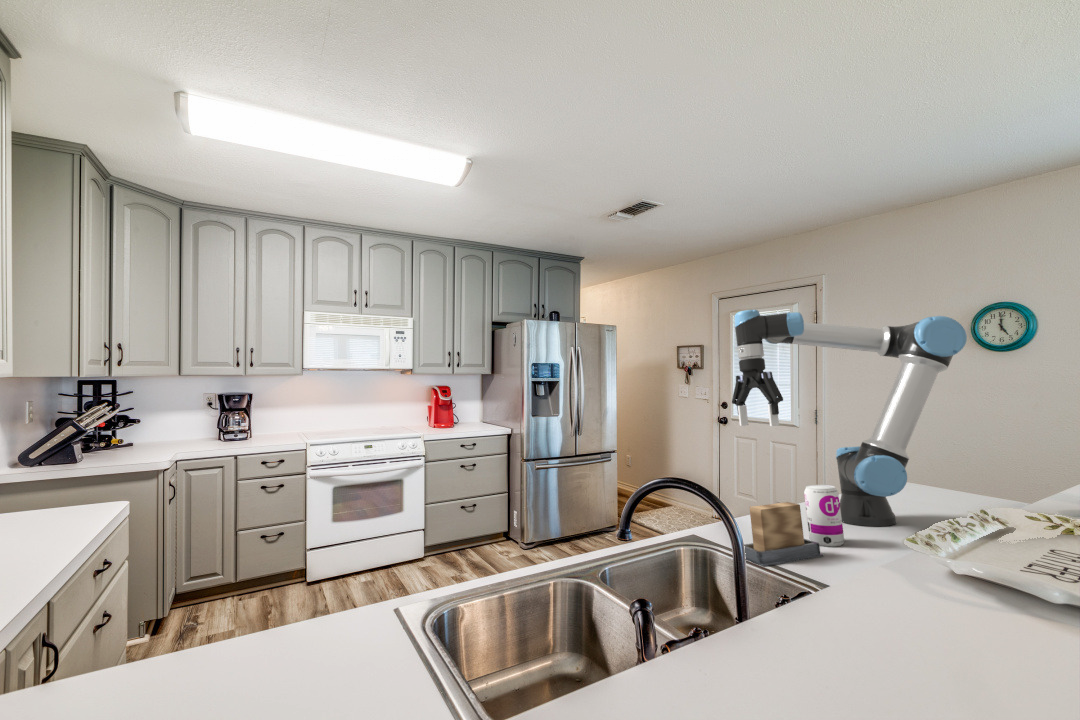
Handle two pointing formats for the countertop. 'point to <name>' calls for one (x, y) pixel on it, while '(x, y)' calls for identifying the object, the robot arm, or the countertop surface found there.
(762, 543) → the panel
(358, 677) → the countertop surface
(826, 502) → the supplement can
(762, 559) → the track
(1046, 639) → the countertop surface
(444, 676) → the countertop surface
